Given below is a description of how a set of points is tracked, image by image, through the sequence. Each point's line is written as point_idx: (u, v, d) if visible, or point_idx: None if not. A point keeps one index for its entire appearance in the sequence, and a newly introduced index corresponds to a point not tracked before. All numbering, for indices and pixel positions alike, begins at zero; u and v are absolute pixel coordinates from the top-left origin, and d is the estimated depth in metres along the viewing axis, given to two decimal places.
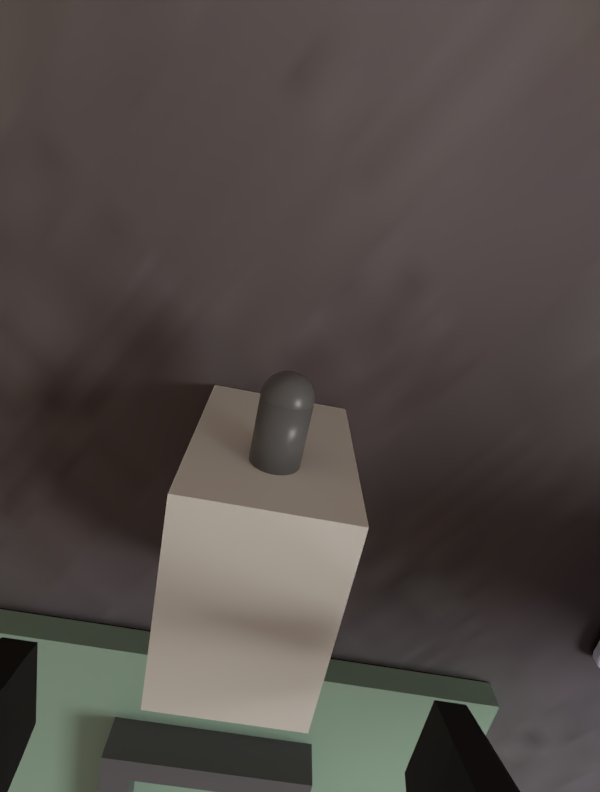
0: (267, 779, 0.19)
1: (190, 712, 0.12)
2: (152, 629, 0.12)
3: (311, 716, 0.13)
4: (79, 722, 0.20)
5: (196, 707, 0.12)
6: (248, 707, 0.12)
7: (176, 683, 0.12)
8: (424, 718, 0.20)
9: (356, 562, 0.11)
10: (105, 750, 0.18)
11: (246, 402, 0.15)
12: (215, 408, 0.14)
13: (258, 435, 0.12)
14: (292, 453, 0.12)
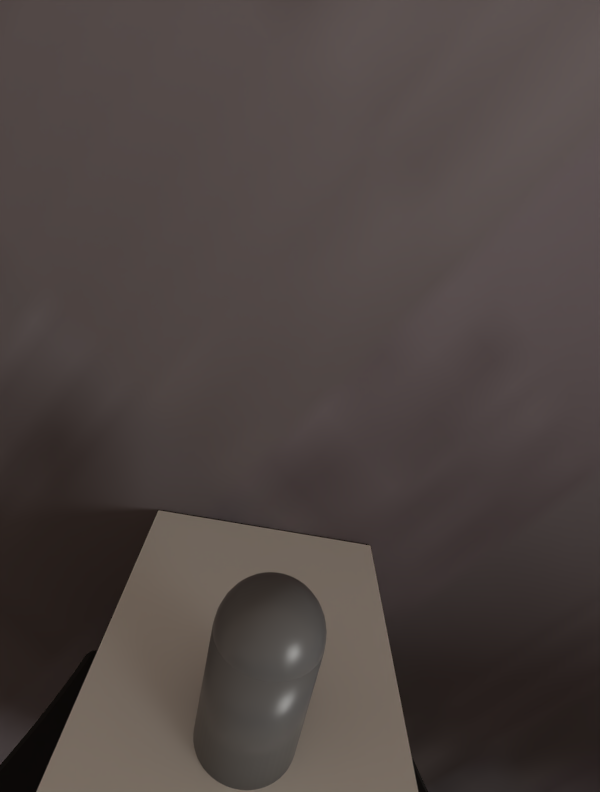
0: None
1: None
2: None
3: None
4: None
5: None
6: None
7: None
8: None
9: None
10: None
11: (207, 550, 0.09)
12: (148, 574, 0.08)
13: (208, 712, 0.06)
14: (280, 749, 0.06)
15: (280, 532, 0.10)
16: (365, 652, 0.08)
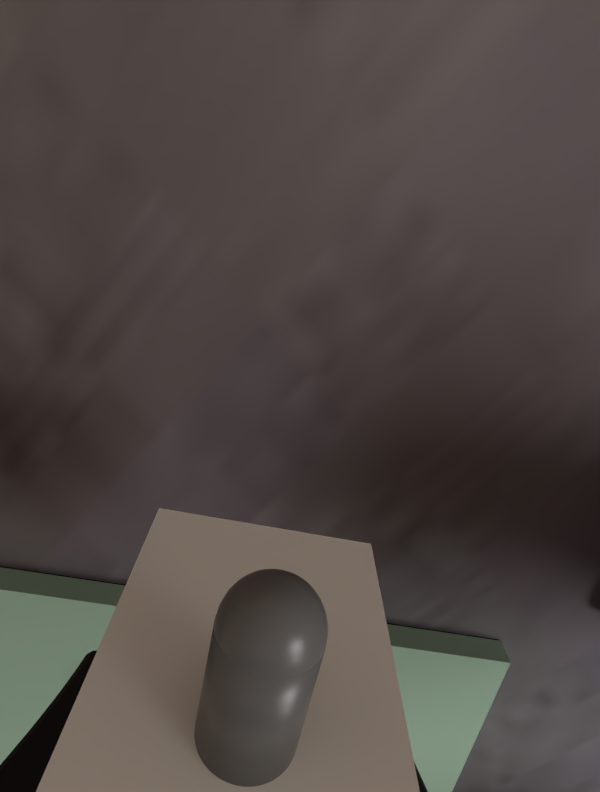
0: None
1: None
2: None
3: None
4: None
5: None
6: None
7: None
8: (435, 675, 0.19)
9: None
10: None
11: (207, 547, 0.09)
12: (150, 572, 0.08)
13: (209, 709, 0.06)
14: (281, 745, 0.06)
15: (281, 530, 0.10)
16: (366, 650, 0.08)
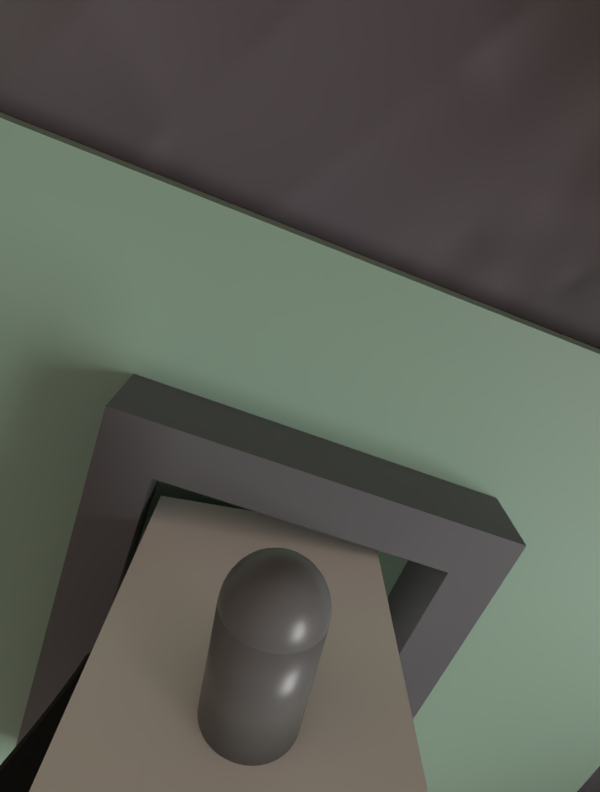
0: (442, 517, 0.09)
1: None
2: None
3: None
4: (55, 376, 0.10)
5: None
6: None
7: None
8: None
9: None
10: (114, 400, 0.08)
11: (209, 534, 0.09)
12: (152, 557, 0.08)
13: (213, 687, 0.06)
14: (285, 724, 0.06)
15: None
16: (369, 634, 0.08)
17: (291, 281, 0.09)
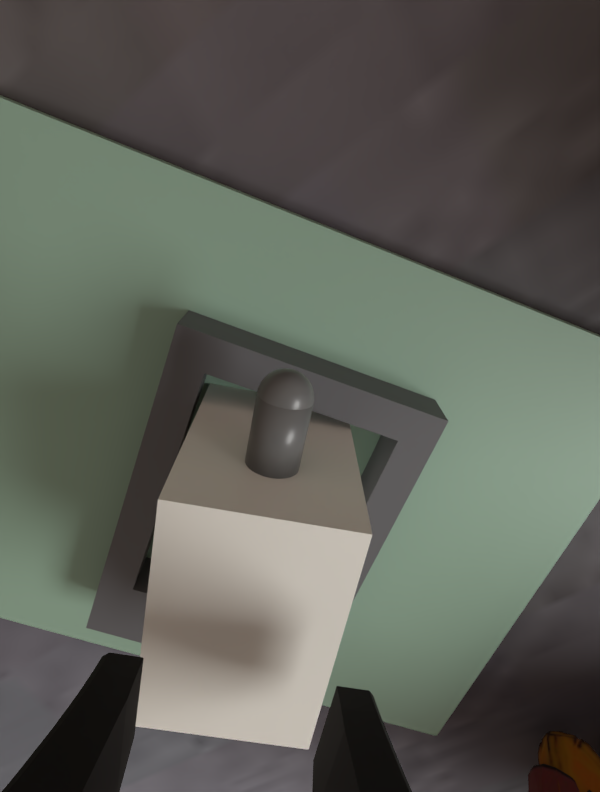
0: (392, 400, 0.14)
1: (184, 728, 0.12)
2: (143, 642, 0.11)
3: (311, 731, 0.12)
4: (137, 311, 0.14)
5: (190, 723, 0.12)
6: (245, 722, 0.12)
7: (169, 698, 0.12)
8: (589, 376, 0.15)
9: (359, 570, 0.10)
10: (181, 321, 0.13)
11: (242, 401, 0.14)
12: (210, 408, 0.14)
13: (254, 436, 0.11)
14: (290, 455, 0.11)
15: None
16: (339, 445, 0.13)
17: (293, 247, 0.14)
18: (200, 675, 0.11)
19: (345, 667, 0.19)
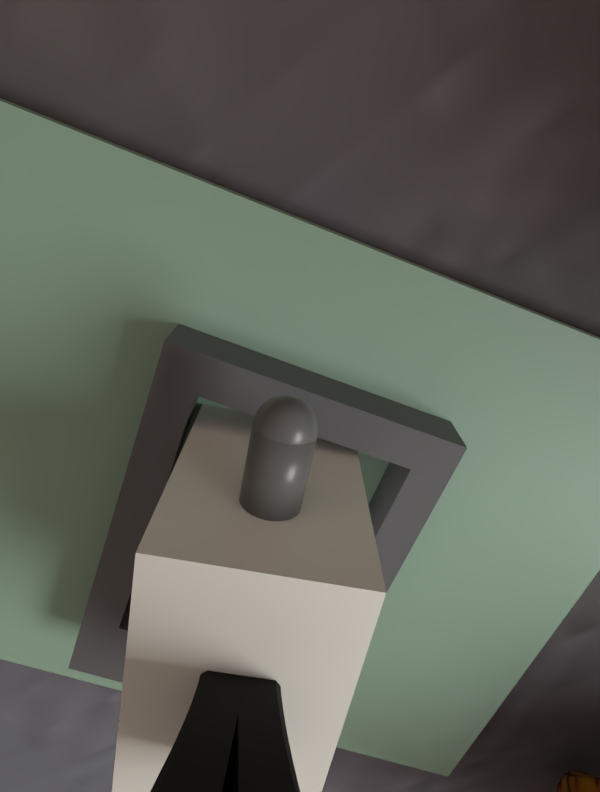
0: (405, 425, 0.12)
1: None
2: (121, 709, 0.09)
3: None
4: (121, 325, 0.13)
5: None
6: None
7: (153, 770, 0.10)
8: None
9: (370, 631, 0.09)
10: (169, 338, 0.12)
11: (238, 425, 0.13)
12: (202, 433, 0.12)
13: (250, 473, 0.10)
14: (291, 495, 0.10)
15: None
16: (345, 477, 0.12)
17: (295, 254, 0.12)
18: None
19: (350, 705, 0.18)
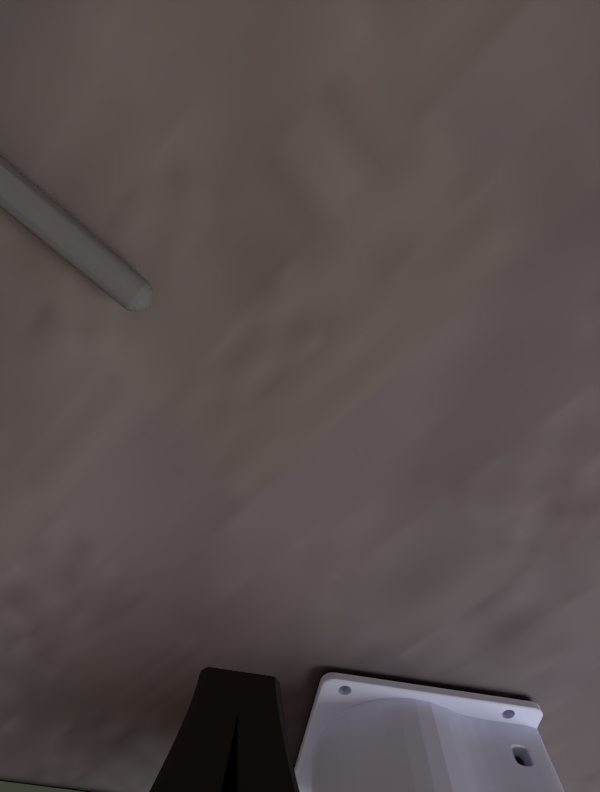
0: None
1: None
2: None
3: None
4: None
5: None
6: None
7: None
8: None
9: None
10: None
11: None
12: None
13: None
14: None
15: None
16: None
17: None
18: None
19: None
